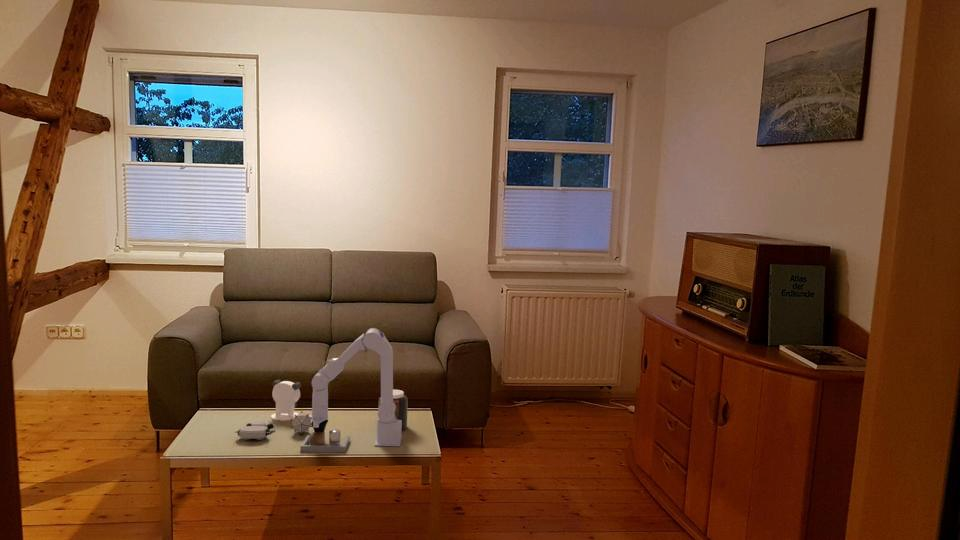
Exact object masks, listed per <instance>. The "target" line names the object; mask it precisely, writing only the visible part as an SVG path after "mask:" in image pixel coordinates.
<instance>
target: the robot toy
mask: <svg viewBox="0 0 960 540" xmlns="http://www.w3.org/2000/svg"><path fill="white" fill-rule="evenodd" d="M274 427H276V424H274V423H269V424H267V423H266V422H265V421H255V422H253V423H249V422H248V423H246V426H243V427H241V428H240V429H238V430H237V431H234V433H237V436H238V437H239V438H240V439H243V440H255V439H256V440H259V441H261V440H263V439H264V438H265V439H266V437H267V436H268V435H270V434H271V431H270V430H272V429H274Z"/></svg>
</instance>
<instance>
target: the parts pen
mask: <svg viewBox="0 0 960 540" xmlns="http://www.w3.org/2000/svg"><path fill="white" fill-rule="evenodd" d="M310 436H311V434H310V435H309V434H307V435H306V436H305V438H304V440H303V441H302V443H301V445H300V452H308V453H312V452H315V453H317V452H319V453H346V450H347V448H348V446H349V443H350V438H351V436H350V435H346V437H345V440H344V442H343V444H342V445H340V446H329V445H325V444H324V445H310Z"/></svg>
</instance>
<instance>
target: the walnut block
mask: <svg viewBox="0 0 960 540" xmlns="http://www.w3.org/2000/svg"><path fill="white" fill-rule="evenodd" d="M325 435H326V433H325V431H324V432H314V431H313V432H312V433H311V434H310V441H309V445H325V441H326V439H325V438H326V436H325Z"/></svg>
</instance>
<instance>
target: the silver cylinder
mask: <svg viewBox="0 0 960 540" xmlns="http://www.w3.org/2000/svg"><path fill="white" fill-rule="evenodd" d="M328 433H329V436H328V437H329V438H328V441H329V442H328V444H329V445H328V446H341V430H340V429H338V428H336V429H335V428H334V429H330V430H329V432H328Z"/></svg>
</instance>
